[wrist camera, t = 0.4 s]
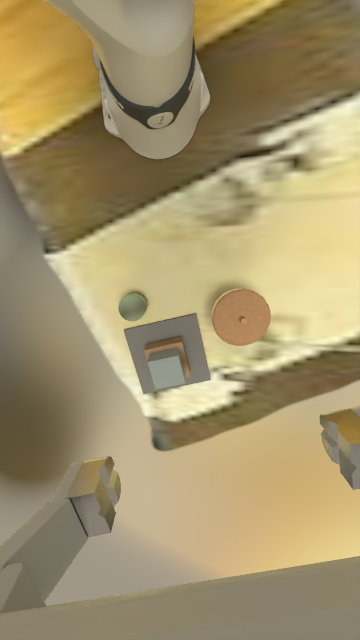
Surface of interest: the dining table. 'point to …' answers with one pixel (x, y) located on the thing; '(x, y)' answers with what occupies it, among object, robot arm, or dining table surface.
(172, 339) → the block
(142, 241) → the dining table surface
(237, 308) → the lidded jar
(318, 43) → the dining table surface
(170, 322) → the mat
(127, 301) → the olive green cylinder
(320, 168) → the dining table surface
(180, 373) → the tower top
